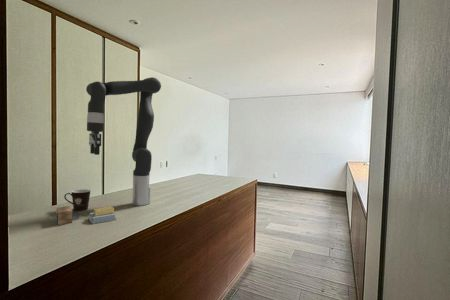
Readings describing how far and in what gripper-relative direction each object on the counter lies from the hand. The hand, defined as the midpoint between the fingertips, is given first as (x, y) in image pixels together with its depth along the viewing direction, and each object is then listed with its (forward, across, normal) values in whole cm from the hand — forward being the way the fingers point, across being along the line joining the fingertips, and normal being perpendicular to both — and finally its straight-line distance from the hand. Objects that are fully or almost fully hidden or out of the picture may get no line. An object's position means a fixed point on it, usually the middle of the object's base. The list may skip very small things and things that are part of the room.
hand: (94, 154), depth 122 cm
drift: (+30, -7, +12) cm, 33 cm away
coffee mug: (+30, +10, +5) cm, 32 cm away
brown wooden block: (+30, -7, +14) cm, 34 cm away
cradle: (+30, -13, -1) cm, 33 cm away
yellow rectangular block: (+29, -13, -2) cm, 32 cm away
